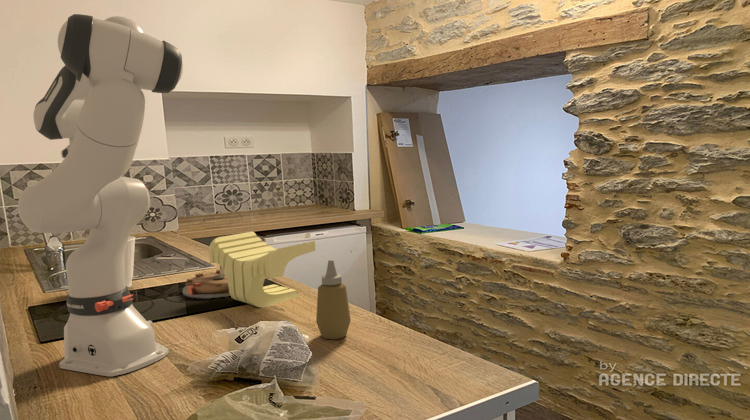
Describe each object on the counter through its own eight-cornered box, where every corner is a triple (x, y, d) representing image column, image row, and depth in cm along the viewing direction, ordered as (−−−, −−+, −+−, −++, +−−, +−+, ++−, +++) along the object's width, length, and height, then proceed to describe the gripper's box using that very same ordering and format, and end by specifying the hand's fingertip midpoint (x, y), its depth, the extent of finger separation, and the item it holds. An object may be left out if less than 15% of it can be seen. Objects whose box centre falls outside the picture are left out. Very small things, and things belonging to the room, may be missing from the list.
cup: (141, 280, 177) (137, 235, 175) (137, 289, 166) (133, 240, 164) (103, 284, 173) (98, 238, 171) (96, 293, 162) (91, 244, 160)
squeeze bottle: (319, 329, 124) (316, 257, 122) (352, 328, 124) (349, 256, 122) (314, 342, 116) (310, 265, 114) (349, 341, 116) (346, 264, 114)
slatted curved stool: (212, 296, 155) (208, 239, 152) (256, 285, 166) (253, 231, 164) (272, 316, 135) (268, 250, 132) (317, 302, 146) (314, 240, 144)
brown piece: (236, 293, 153) (233, 248, 151) (175, 293, 155) (171, 248, 153) (258, 277, 171) (255, 236, 170) (203, 277, 174) (200, 236, 172)
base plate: (268, 284, 167) (268, 274, 166) (216, 302, 148) (215, 291, 148) (222, 276, 178) (221, 267, 178) (167, 293, 160) (166, 282, 159)
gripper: (122, 149, 136) (127, 201, 138) (80, 151, 147) (85, 199, 149) (99, 150, 131) (104, 203, 133) (57, 151, 142) (63, 201, 143)
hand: (94, 201), depth 141 cm, fingers closed
